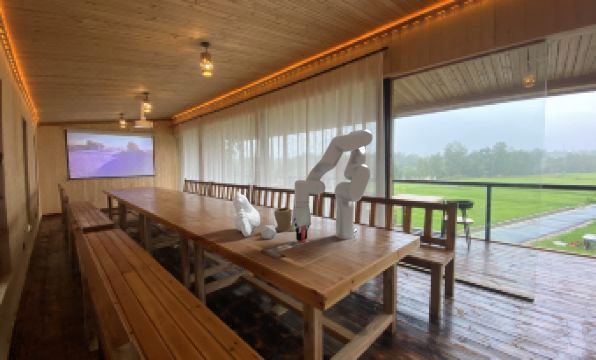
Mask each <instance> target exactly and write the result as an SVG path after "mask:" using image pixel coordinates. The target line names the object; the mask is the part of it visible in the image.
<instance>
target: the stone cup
mask: <svg viewBox="0 0 596 360" xmlns="http://www.w3.org/2000/svg"><path fill="white" fill-rule="evenodd" d="M273 212H274V213H273V214H274V218H275V221H276V224H277V225H276V227H275V230H276V233H279V232H280V233H284V232H286V233H287V232H288V233H294V232H295V230H293V229H292V213H293V210H292V209H291V208H290V207H288V206H285V207H278V208H276V209H275V210H274V211H273ZM295 233H296V232H295Z"/></svg>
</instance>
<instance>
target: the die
mask: <svg viewBox="0 0 596 360" xmlns="http://www.w3.org/2000/svg"><path fill="white" fill-rule="evenodd" d="M275 228H276V227H275V224H273V225H270V224H269V225H267V224H265V225H263V227H262V230H261V231H260V234H261V237H262V239H265V240H273V239H275V238H276V236H277V233H278V232H277V231H276V230H275Z"/></svg>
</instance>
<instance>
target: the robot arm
mask: <svg viewBox="0 0 596 360" xmlns="http://www.w3.org/2000/svg"><path fill="white" fill-rule="evenodd" d="M373 137H374V136H373V132H371V131H370V130H369V129H360V130H358V129H357V130H353V131H350V132H349V133H348V134H342V135H338V136H334V137H333V138H332V139H331V140H330V142H329V145H328V146H327V148H326V150H325V151H324V154H323V156H322V157H321V158H320V160H319V161H318V162H317V163H316V165H314V167H313V168H312V169H311V170H310V171H309V173H308V175H307V177H306V179H300V180H299V179H298V180H295V182H294V206H293V208H292V218H291V225H292V229H293V230H295V241H297V240H299V241H301V239H302V234H301V227H303V226H306V228H305V239H306V240H307V239H308V232H309V228H310V226H312V222H311V221H312V220H311V207H310V195H322V194H323V193H324V192H325V190H326V185H325V182H324V181H322V178H323V177H324V175H326V174H327V173H328V172H330V171H332V170H333V169H335V168H336V166H337V164H338V162H339V161H340V159H341V157H342V156H343V154H344V153H347V152H350V155H349V158H348V162H347V163H346V166H345V168H344V171H343V176H344V178H345V179H346V180H348V181H341V182H338V184H337V185H336V186H335V189H334V197H335V203H336V204H335V205H336V206H335V207H336V209H335V211H336V212H335V234H334V235H333V237H336V238H337V239H341V240H350V241H354V242H355V241H356V240H357V236H356V235H355V233H357V232H358V231H357V229H356V228H355V229H354V217H355V215H354V214H355V213H354V212H355V205H354V202H355V203H356V202H359V201H360V200H361V199H362V197H363V196H364V194H365V192H366V189H367V186H368V184H369V181H370V178H371V170H370V168H369V166H367V165H366V164H365V163H366V160H367V150H366V147H367V146H369V145H370V144H371V143H372V141H373ZM298 228H299V230H298Z"/></svg>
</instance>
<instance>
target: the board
mask: <svg viewBox="0 0 596 360" xmlns="http://www.w3.org/2000/svg"><path fill="white" fill-rule="evenodd" d="M309 242H310V241H308V240H306V242H305V243H299V242H297V240H294V241H292V242H289V243H286V244H282V245H279V246H277V247H273V248H270V249H268V248H261V249H260V252H261V253H262V252H263V254H265V255H268V256H271V257H273V258H276V259H280V258H283V257H285V254H284V255H283V254H281V253H280V252H282V251H285V250H288V249H291V248H293V247H297V246H299V245H303V244H306V243H309Z"/></svg>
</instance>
